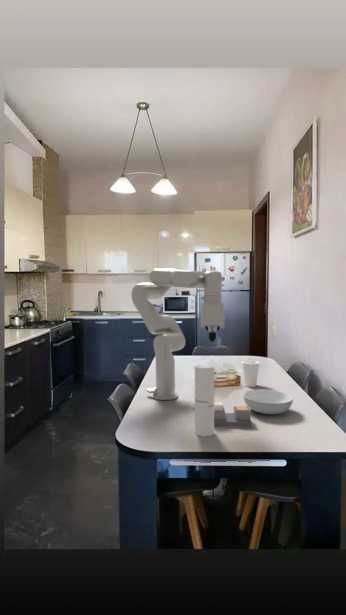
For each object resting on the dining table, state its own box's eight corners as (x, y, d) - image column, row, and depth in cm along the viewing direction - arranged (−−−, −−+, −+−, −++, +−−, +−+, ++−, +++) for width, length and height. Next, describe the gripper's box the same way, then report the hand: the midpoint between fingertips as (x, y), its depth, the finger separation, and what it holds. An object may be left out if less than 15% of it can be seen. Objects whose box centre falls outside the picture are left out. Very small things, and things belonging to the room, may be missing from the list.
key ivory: (211, 412, 143) (211, 405, 143) (211, 409, 148) (210, 401, 148) (222, 412, 143) (222, 405, 143) (221, 409, 148) (221, 401, 148)
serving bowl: (285, 423, 145) (285, 406, 144) (236, 413, 156) (236, 398, 155) (297, 408, 162) (298, 393, 162) (252, 400, 173) (252, 386, 173)
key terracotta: (237, 417, 143) (237, 410, 143) (235, 413, 148) (235, 406, 147) (248, 417, 143) (248, 410, 143) (246, 413, 148) (246, 406, 147)
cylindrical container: (193, 429, 139) (193, 364, 137) (212, 428, 139) (212, 363, 138) (196, 436, 132) (196, 368, 130) (215, 435, 132) (215, 368, 131)
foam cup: (240, 386, 198) (240, 363, 198) (243, 382, 207) (243, 360, 206) (257, 388, 195) (257, 364, 194) (260, 384, 203) (260, 361, 203)
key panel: (210, 426, 141) (210, 412, 141) (208, 417, 151) (208, 404, 151) (251, 427, 140) (251, 413, 140) (247, 417, 150) (247, 404, 150)
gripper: (195, 299, 155) (195, 342, 157) (230, 300, 155) (230, 342, 156) (195, 299, 163) (195, 339, 164) (228, 299, 162) (228, 340, 163)
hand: (212, 341), depth 160 cm, fingers closed
